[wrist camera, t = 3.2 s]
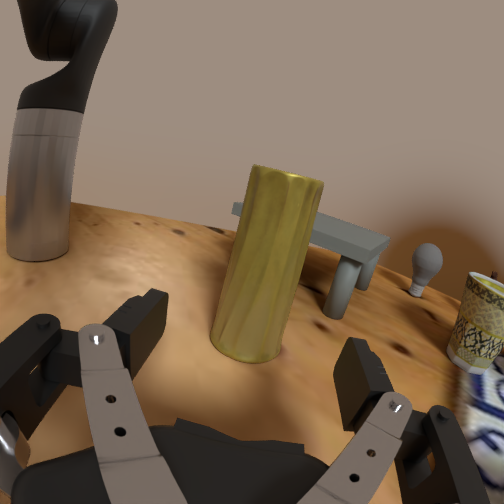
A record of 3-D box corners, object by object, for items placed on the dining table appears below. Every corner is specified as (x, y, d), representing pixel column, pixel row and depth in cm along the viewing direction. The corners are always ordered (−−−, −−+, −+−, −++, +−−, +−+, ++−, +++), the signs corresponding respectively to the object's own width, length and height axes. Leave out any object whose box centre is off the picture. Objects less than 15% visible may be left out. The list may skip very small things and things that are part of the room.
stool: (220, 267, 39) (233, 202, 36) (283, 251, 54) (295, 204, 51) (342, 326, 30) (370, 250, 27) (373, 288, 45) (390, 237, 42)
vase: (215, 316, 27) (248, 163, 23) (278, 330, 27) (321, 181, 23) (204, 354, 21) (243, 161, 17) (281, 370, 21) (340, 186, 17)
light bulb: (405, 298, 43) (426, 243, 40) (396, 286, 49) (413, 236, 46) (432, 305, 43) (452, 253, 40) (420, 293, 49) (438, 244, 46)
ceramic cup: (449, 378, 22) (493, 293, 19) (427, 334, 32) (457, 265, 29) (516, 387, 20) (555, 317, 17) (490, 350, 29) (518, 289, 26)
